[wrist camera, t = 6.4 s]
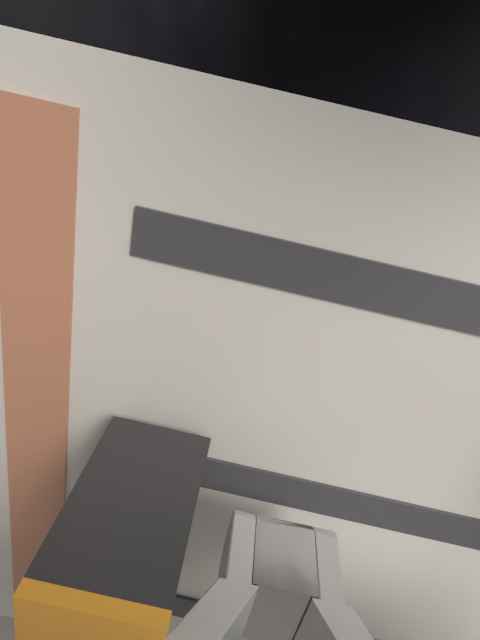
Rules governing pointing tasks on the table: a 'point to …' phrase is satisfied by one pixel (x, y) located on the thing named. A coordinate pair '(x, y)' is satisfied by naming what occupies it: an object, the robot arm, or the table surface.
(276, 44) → the table surface
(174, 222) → the white slider switch panel
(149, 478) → the block
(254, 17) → the table surface
